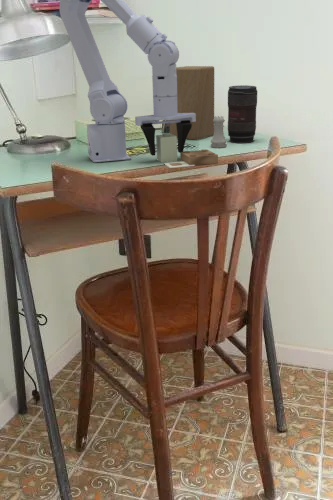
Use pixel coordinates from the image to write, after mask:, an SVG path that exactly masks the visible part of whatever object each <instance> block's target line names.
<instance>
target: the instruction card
mask: <svg viewBox="0 0 333 500" xmlns="http://www.w3.org/2000/svg"><path fill="white" fill-rule="evenodd" d="M164 164H165V166H166V167H167V168H169V169H175V168H188V167H195V166H196V165H189V164H188V163H186V162H184V161H174V162H163V165H164Z"/></svg>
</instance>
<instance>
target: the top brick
mask: <svg viewBox="0 0 333 500" xmlns="http://www.w3.org/2000/svg"><path fill="white" fill-rule="evenodd" d="M155 143H156V144H155V148H156V160H157V159H158V160H159V161H158V160H157V161H158V162H160V161H161V162H163V163H166V162H165V161H174V162H178V138H177V136H175V135H173V134H170V133H169V132H168V133H162V134H155ZM161 162H160V163H161Z"/></svg>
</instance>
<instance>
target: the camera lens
mask: <svg viewBox="0 0 333 500" xmlns="http://www.w3.org/2000/svg"><path fill="white" fill-rule="evenodd" d="M257 105H258V89H257V86H255V85H249V84H248V85H246V84H245V85H242V84H241V85H240V84H239V85H231V86H228V90H227V111H228V112H227V134H228V136H229V142H231V143H235V144H243V143H244V144H245V143H253V142H254V137H255V136H256V128H257Z"/></svg>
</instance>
